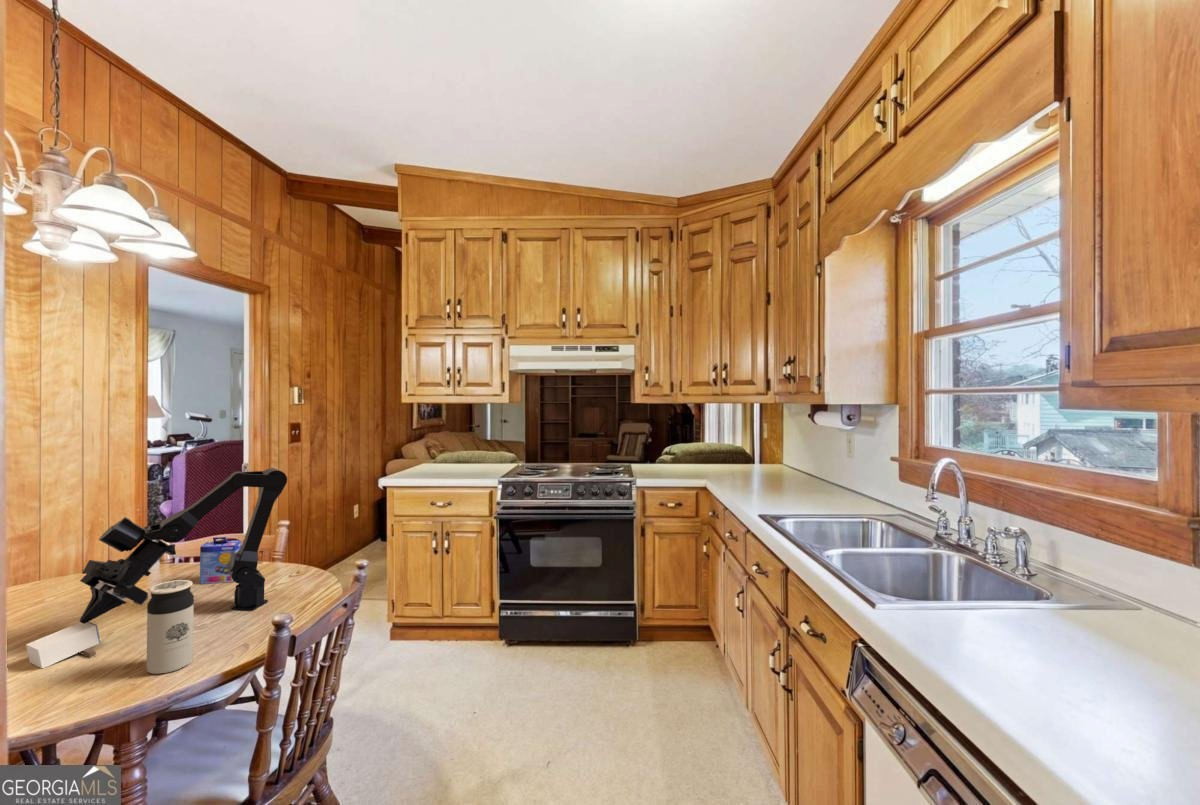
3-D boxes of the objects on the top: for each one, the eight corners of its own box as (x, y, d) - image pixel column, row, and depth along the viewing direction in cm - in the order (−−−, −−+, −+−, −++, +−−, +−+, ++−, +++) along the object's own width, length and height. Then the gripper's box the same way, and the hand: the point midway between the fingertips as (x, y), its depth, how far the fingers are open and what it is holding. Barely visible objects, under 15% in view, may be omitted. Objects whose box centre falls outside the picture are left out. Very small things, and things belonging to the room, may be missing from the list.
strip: (69, 644, 123) (69, 640, 123) (95, 656, 118) (95, 651, 118) (63, 646, 122) (63, 642, 122) (90, 657, 118) (90, 653, 118)
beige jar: (145, 664, 115) (146, 584, 115) (190, 652, 121) (191, 576, 121) (147, 679, 110) (149, 595, 109) (195, 666, 115) (196, 586, 115)
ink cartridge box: (198, 585, 162) (199, 539, 162) (205, 578, 167) (206, 534, 167) (235, 582, 165) (235, 537, 165) (241, 576, 170) (242, 532, 170)
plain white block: (84, 620, 123) (25, 644, 114) (97, 624, 121) (38, 649, 112) (88, 637, 124) (30, 663, 115) (100, 642, 122) (42, 668, 113)
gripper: (91, 540, 129) (28, 599, 119) (132, 551, 121) (69, 615, 112) (129, 562, 136) (73, 620, 126) (171, 574, 129) (115, 636, 119)
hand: (81, 622), depth 121 cm, fingers closed
